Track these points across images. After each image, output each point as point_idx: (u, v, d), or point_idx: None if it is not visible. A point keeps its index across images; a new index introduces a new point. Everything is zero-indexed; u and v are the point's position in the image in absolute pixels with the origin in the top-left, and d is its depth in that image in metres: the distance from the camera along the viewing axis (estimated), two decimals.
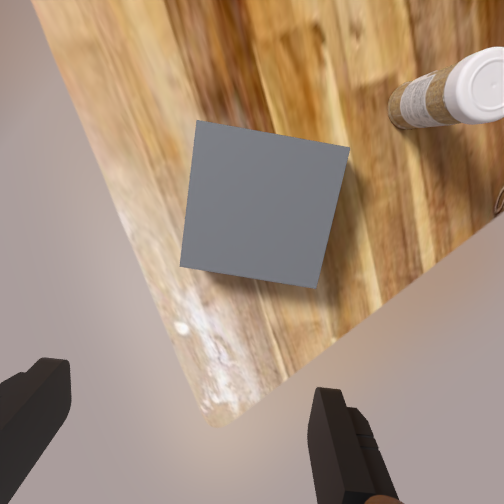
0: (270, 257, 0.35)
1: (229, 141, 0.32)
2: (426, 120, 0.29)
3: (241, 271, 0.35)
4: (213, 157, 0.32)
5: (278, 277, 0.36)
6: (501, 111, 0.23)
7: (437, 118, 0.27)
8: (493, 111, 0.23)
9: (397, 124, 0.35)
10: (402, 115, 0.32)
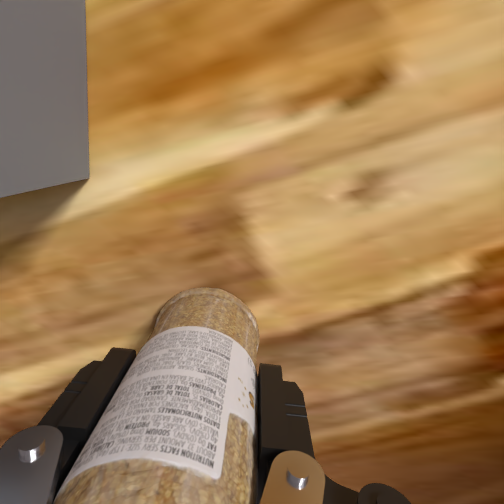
0: None
1: None
2: (85, 444, 0.08)
3: None
4: None
5: None
6: None
7: None
8: None
9: (160, 316, 0.14)
10: (155, 336, 0.12)
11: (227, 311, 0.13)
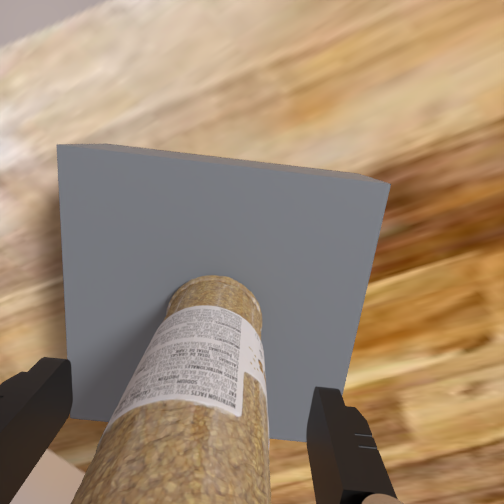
0: (117, 338, 0.17)
1: (345, 252, 0.16)
2: None
3: (75, 284, 0.16)
4: (314, 219, 0.15)
5: (78, 354, 0.18)
6: None
7: (95, 455, 0.08)
8: None
9: (171, 302, 0.16)
10: (171, 315, 0.13)
11: (234, 295, 0.15)
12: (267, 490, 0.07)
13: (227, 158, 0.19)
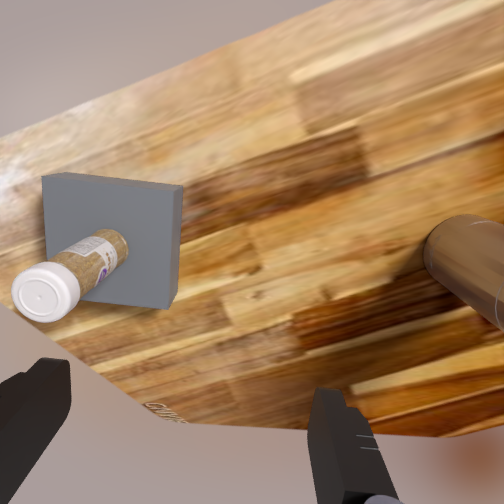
0: None
1: (160, 219, 0.38)
2: None
3: (50, 233, 0.39)
4: (145, 205, 0.38)
5: None
6: (20, 308, 0.27)
7: None
8: (19, 301, 0.27)
9: None
10: None
11: (110, 235, 0.37)
12: (87, 271, 0.30)
13: (121, 179, 0.42)
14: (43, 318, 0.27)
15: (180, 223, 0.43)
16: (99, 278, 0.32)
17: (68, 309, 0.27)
